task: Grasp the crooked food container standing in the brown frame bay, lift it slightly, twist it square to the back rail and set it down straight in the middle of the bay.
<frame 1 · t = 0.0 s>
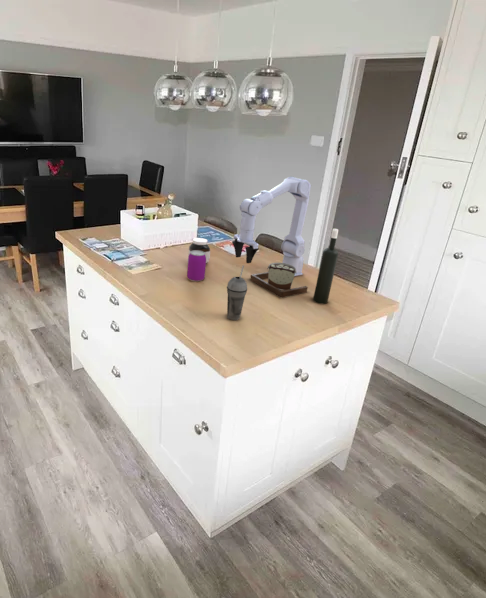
hand: (243, 259, 178), 10 cm above the counter, tool pointing down, fingers open, 7 cm apart
food container: (279, 287, 180), on the counter
brown frame: (278, 285, 181), on the counter
beverage can: (195, 279, 182), on the counter
wine bottle: (320, 301, 170), on the counter
spread jar: (197, 265, 198), on the counter
beverage cup: (233, 317, 150), on the counter
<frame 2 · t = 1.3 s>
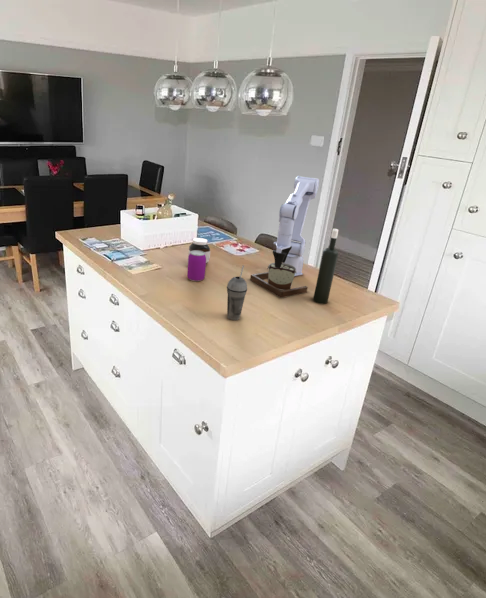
hand: (280, 264, 176), 10 cm above the counter, tool pointing down, fingers open, 7 cm apart
nothing on the counter moved.
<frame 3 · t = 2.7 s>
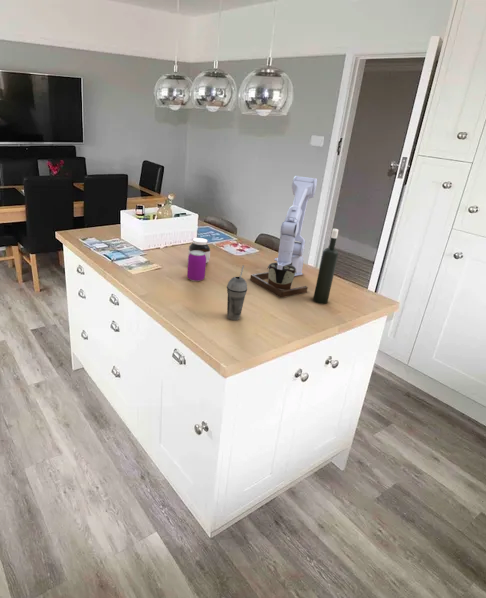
hand: (280, 280, 179), 3 cm above the counter, tool pointing down, fingers closed on food container, 6 cm apart
food container: (279, 287, 180), on the counter, touching gripper
everything else where it was.
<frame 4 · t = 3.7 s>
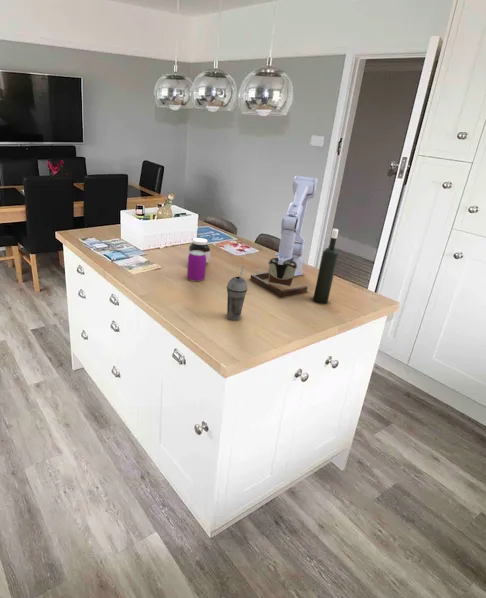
hand: (281, 275, 178), 5 cm above the counter, tool pointing down, fingers closed on food container, 6 cm apart
food container: (280, 282, 180), point 2 cm above the counter, touching gripper
everything else where it was.
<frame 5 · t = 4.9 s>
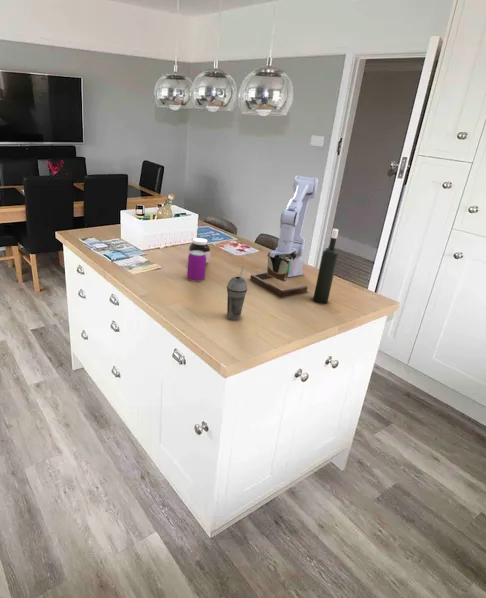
hand: (280, 270, 177), 7 cm above the counter, tool pointing down, fingers closed on food container, 6 cm apart
food container: (279, 277, 178), point 4 cm above the counter, touching gripper
everything else where it was.
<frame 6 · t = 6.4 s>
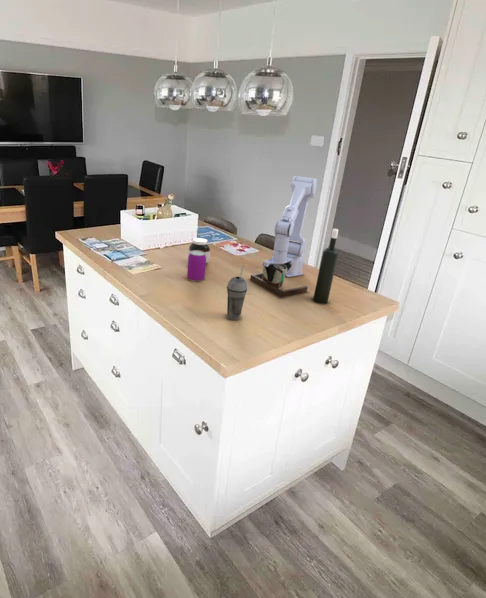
hand: (275, 279, 179), 3 cm above the counter, tool pointing down, fingers closed on food container, 6 cm apart
food container: (274, 286, 180), on the counter, touching gripper
everything else where it was.
when the fingers open (3 cm above the counter, at t = 7.0 s): food container stays where it is, on the counter.
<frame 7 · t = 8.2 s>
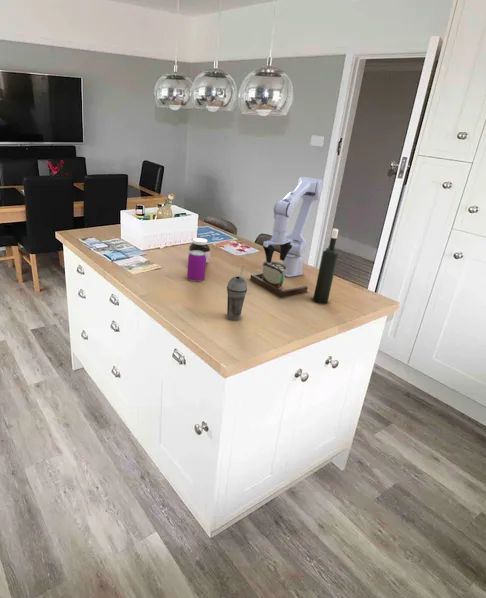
hand: (275, 261, 179), 10 cm above the counter, tool pointing down, fingers open, 7 cm apart
food container: (274, 286, 180), on the counter
everything else where it was.
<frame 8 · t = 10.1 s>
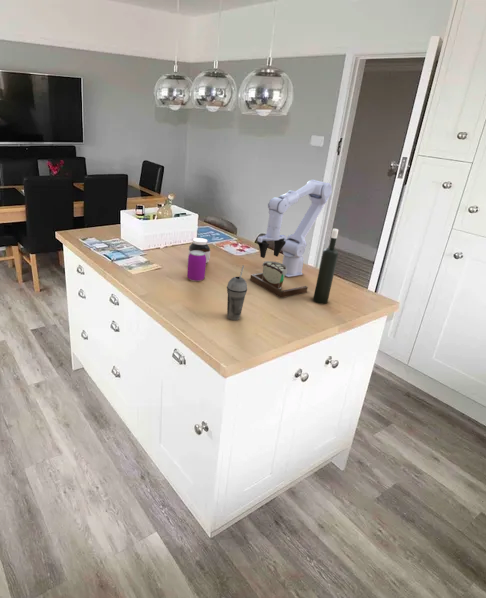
hand: (269, 256, 184), 10 cm above the counter, tool pointing down, fingers open, 7 cm apart
nothing on the counter moved.
at the end: food container 0.0 cm from the target spot, on the counter; food container tilted 0°; the gripper is holding nothing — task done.
